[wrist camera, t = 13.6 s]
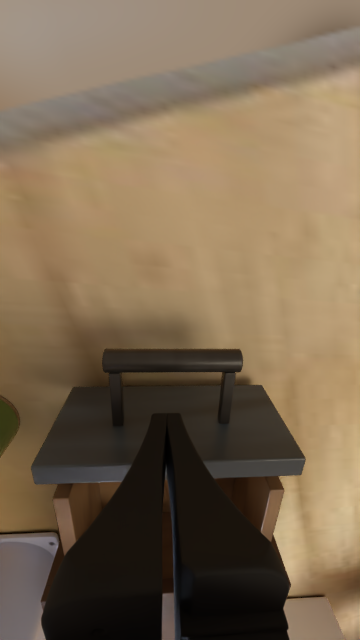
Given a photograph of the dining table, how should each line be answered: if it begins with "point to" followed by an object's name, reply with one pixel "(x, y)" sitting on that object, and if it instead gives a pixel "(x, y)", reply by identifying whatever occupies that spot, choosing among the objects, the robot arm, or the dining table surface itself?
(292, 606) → the milk carton
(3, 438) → the tin can
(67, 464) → the drawer
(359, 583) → the dining table surface
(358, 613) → the dining table surface
